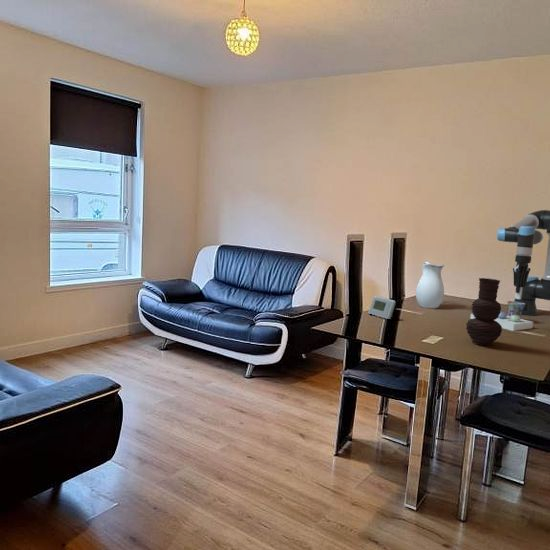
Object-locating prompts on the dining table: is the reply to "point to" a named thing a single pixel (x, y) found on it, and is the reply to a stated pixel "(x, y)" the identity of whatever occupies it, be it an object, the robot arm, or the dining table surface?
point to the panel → (512, 323)
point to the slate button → (502, 315)
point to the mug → (515, 308)
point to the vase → (485, 314)
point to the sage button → (515, 318)
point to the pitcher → (430, 286)
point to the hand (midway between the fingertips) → (517, 298)
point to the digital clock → (382, 307)
